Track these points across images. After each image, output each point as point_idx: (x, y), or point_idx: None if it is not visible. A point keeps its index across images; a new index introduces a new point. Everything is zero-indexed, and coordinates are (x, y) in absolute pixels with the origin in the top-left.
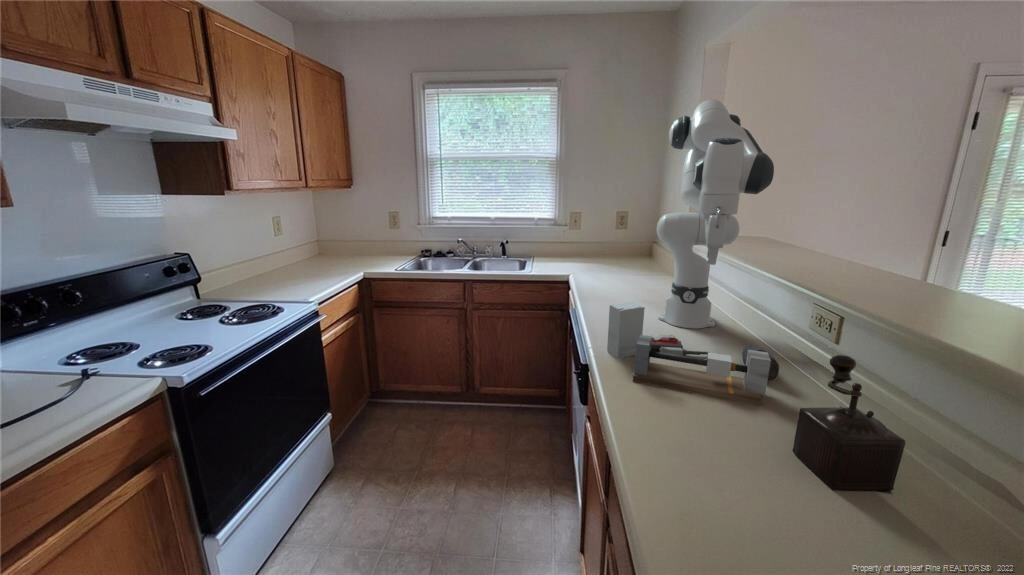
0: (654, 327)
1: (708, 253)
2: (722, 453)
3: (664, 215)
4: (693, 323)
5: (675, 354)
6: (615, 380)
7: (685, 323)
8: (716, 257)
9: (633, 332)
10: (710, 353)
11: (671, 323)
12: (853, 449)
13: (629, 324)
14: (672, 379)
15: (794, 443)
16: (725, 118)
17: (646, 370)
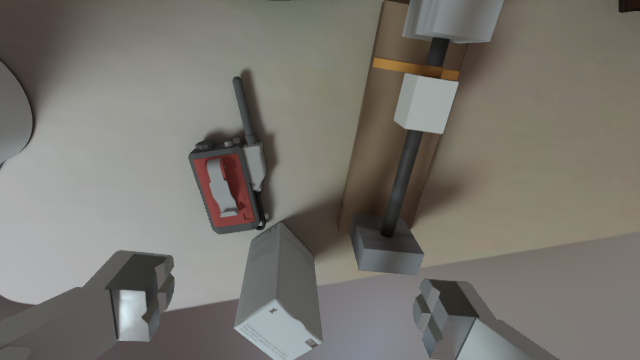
0: (76, 189)
1: (157, 323)
2: (609, 124)
3: None
4: (4, 89)
5: (263, 156)
6: None
7: (17, 113)
8: (503, 323)
9: (297, 270)
10: (411, 123)
11: (21, 147)
12: None
13: (305, 293)
14: (412, 177)
15: (636, 10)
16: None
17: (405, 223)
